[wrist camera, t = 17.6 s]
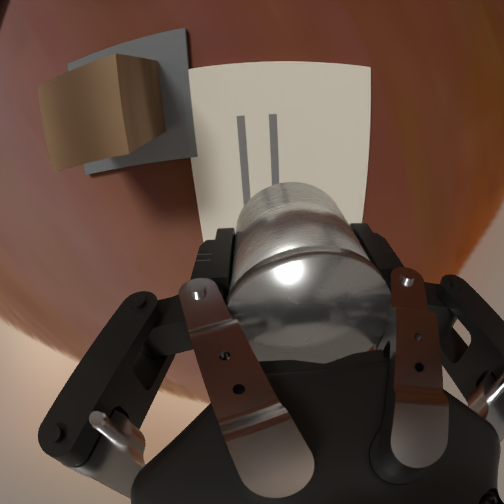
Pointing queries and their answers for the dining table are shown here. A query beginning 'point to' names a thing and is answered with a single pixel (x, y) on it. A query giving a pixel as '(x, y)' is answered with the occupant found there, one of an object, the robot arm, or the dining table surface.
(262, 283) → the tin
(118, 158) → the coaster
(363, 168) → the envelope
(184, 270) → the dining table surface
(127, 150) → the walnut block
